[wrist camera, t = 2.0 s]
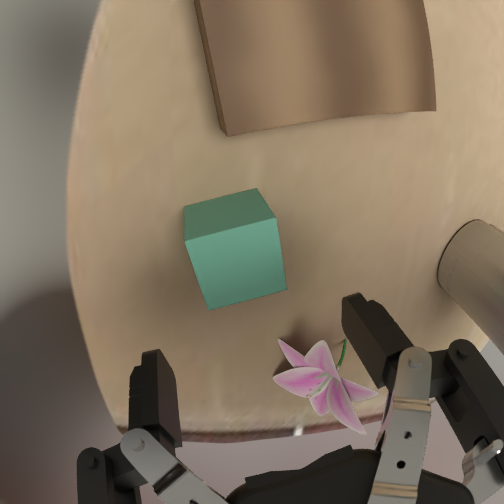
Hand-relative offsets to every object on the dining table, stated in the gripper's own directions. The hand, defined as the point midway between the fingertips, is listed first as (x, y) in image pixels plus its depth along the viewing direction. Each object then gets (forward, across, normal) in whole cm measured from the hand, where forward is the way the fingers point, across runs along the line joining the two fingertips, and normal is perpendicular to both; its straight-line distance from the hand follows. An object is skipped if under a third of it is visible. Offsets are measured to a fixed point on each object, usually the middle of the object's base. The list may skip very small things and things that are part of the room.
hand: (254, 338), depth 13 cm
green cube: (+11, 0, 0) cm, 11 cm away
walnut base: (+11, -8, -14) cm, 20 cm away
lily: (+11, -6, +16) cm, 20 cm away
